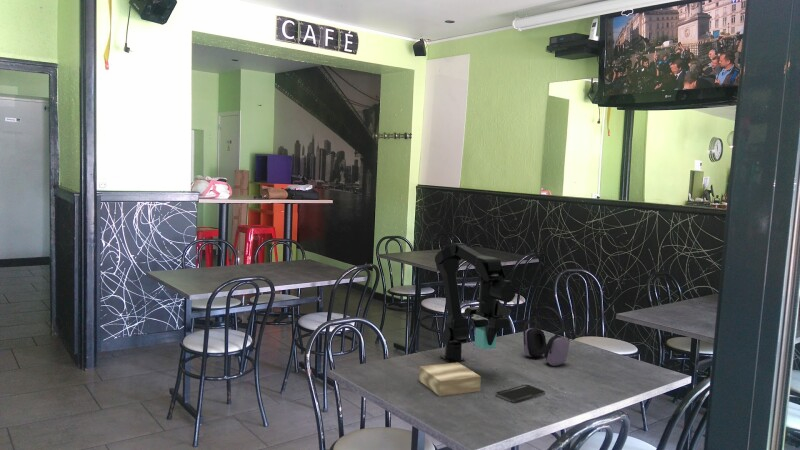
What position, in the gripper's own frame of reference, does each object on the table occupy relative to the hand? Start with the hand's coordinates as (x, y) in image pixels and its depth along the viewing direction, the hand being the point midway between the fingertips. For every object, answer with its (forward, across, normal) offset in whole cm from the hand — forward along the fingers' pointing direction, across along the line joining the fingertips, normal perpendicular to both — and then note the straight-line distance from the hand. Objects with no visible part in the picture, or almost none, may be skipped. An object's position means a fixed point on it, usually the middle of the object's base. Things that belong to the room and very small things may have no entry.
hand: (485, 342), depth 192 cm
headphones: (+11, +6, -31) cm, 34 cm away
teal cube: (+1, 0, 0) cm, 1 cm away
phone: (+12, -19, -1) cm, 22 cm away
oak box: (+11, -4, +16) cm, 20 cm away
